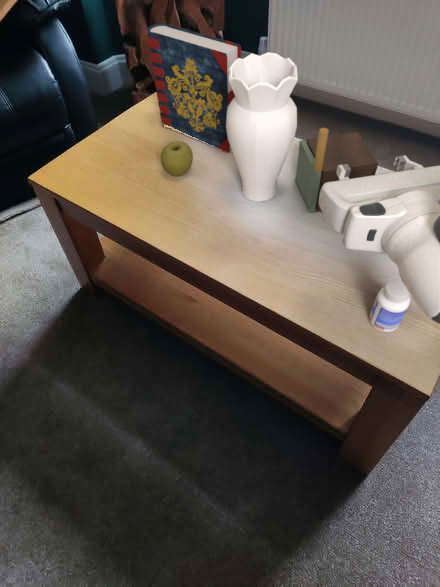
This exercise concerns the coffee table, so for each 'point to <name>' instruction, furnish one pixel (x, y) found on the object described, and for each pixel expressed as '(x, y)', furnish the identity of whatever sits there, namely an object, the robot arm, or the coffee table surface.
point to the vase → (261, 120)
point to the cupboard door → (311, 169)
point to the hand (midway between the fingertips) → (370, 163)
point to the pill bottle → (390, 306)
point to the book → (193, 81)
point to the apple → (176, 158)
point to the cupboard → (344, 158)
